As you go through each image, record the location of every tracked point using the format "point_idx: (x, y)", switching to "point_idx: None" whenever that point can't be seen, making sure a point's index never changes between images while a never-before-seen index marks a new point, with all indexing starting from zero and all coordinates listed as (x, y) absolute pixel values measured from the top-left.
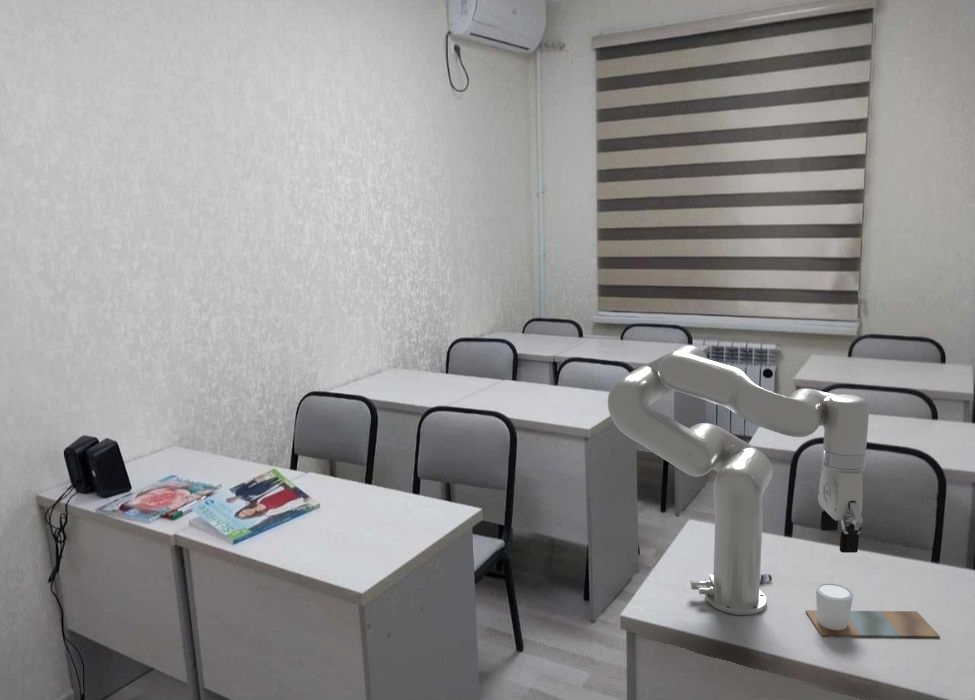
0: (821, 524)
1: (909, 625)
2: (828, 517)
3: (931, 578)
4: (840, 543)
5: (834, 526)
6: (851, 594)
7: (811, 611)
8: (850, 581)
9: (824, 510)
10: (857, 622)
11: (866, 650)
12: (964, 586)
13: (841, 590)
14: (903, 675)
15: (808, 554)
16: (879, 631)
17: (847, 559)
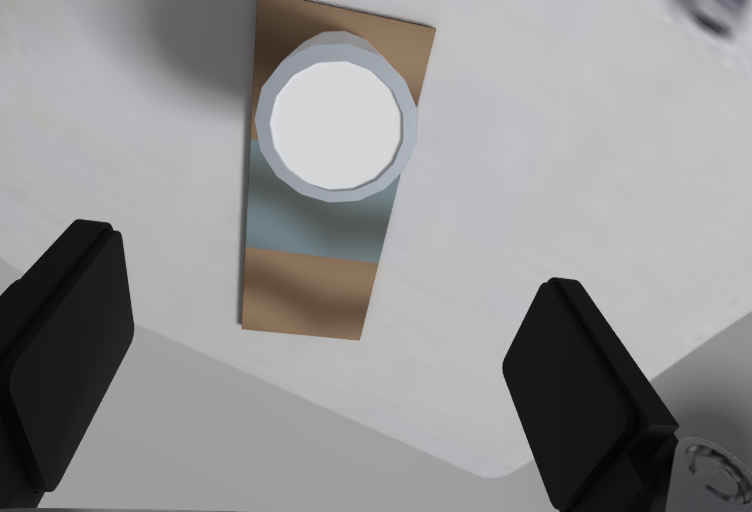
0: (581, 308)
1: (296, 293)
2: (577, 413)
3: (491, 426)
4: (53, 266)
5: (518, 377)
6: (299, 186)
7: (423, 48)
8: (553, 274)
9: (665, 457)
10: None
11: (171, 110)
12: (441, 456)
13: (342, 165)
14: (33, 144)
15: (743, 244)
16: (269, 205)
17: (654, 323)
